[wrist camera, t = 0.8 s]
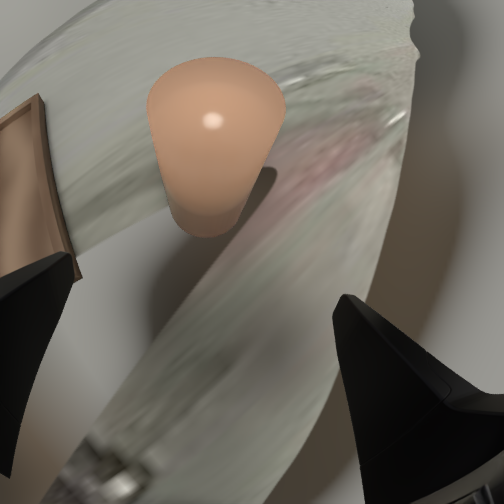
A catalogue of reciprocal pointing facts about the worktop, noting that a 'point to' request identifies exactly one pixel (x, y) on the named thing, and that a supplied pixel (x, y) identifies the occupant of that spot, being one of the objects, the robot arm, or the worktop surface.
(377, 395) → the robot arm
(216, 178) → the peach tapered cylinder
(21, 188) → the walnut tray
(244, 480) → the worktop surface
